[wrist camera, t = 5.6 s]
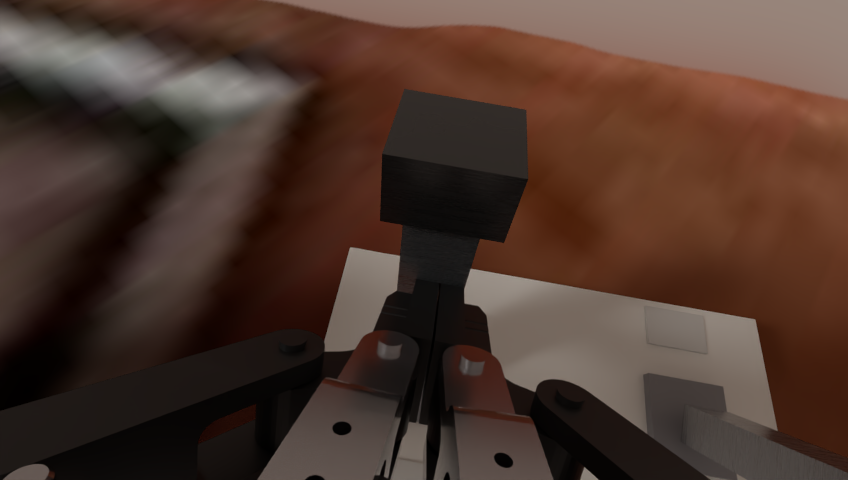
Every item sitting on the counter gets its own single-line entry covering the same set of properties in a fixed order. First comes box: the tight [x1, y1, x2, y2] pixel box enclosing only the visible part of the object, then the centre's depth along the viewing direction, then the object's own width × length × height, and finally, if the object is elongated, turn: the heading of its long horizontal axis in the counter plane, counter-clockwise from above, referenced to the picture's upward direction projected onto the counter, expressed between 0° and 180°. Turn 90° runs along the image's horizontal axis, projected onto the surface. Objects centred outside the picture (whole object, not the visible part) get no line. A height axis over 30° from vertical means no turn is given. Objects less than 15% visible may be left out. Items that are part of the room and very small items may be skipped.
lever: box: [380, 89, 528, 386], centre depth 14 cm, size 3×3×12 cm
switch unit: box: [324, 247, 778, 480], centre depth 22 cm, size 22×12×4 cm, turn 81°
